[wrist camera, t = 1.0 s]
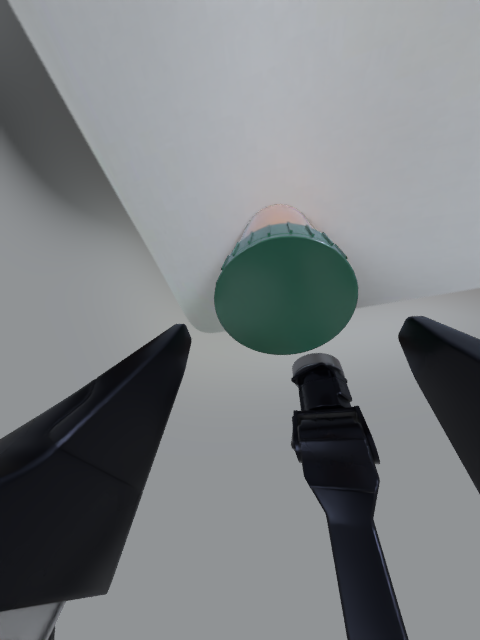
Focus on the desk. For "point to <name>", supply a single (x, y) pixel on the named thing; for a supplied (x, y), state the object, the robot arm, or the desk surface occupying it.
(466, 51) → the desk surface
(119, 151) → the desk surface
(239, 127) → the desk surface
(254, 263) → the jar lid
